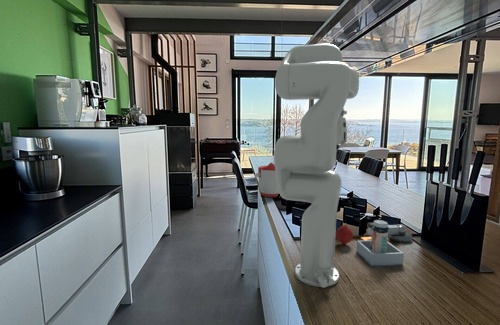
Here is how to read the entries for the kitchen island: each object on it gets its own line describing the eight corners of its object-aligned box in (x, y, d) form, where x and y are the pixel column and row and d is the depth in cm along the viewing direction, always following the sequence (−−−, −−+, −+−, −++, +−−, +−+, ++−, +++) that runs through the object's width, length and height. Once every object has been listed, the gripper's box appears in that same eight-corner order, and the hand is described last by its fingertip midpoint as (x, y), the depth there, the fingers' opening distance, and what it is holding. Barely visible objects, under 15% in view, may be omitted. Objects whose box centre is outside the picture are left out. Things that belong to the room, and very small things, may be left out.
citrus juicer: (252, 192, 177) (253, 161, 174) (279, 191, 180) (280, 160, 177) (258, 199, 161) (258, 165, 158) (287, 198, 164) (288, 164, 161)
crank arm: (402, 231, 111) (403, 221, 110) (407, 235, 107) (408, 224, 107) (364, 232, 110) (365, 222, 109) (369, 236, 106) (370, 225, 106)
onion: (341, 248, 100) (342, 227, 99) (332, 242, 106) (333, 221, 104) (355, 247, 102) (356, 225, 100) (346, 240, 107) (347, 220, 106)
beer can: (372, 251, 97) (374, 218, 95) (387, 256, 94) (390, 221, 92) (368, 257, 93) (370, 222, 91) (383, 261, 90) (386, 225, 88)
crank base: (416, 242, 106) (417, 238, 105) (368, 244, 104) (368, 240, 103) (403, 233, 114) (403, 229, 113) (358, 235, 112) (358, 231, 111)
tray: (402, 265, 89) (403, 253, 89) (372, 266, 88) (372, 254, 87) (384, 250, 99) (385, 239, 99) (356, 251, 98) (357, 240, 97)
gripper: (356, 114, 105) (353, 162, 108) (319, 114, 115) (318, 159, 118) (348, 113, 99) (345, 165, 102) (310, 114, 109) (308, 161, 112)
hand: (330, 161), depth 110 cm, fingers closed
